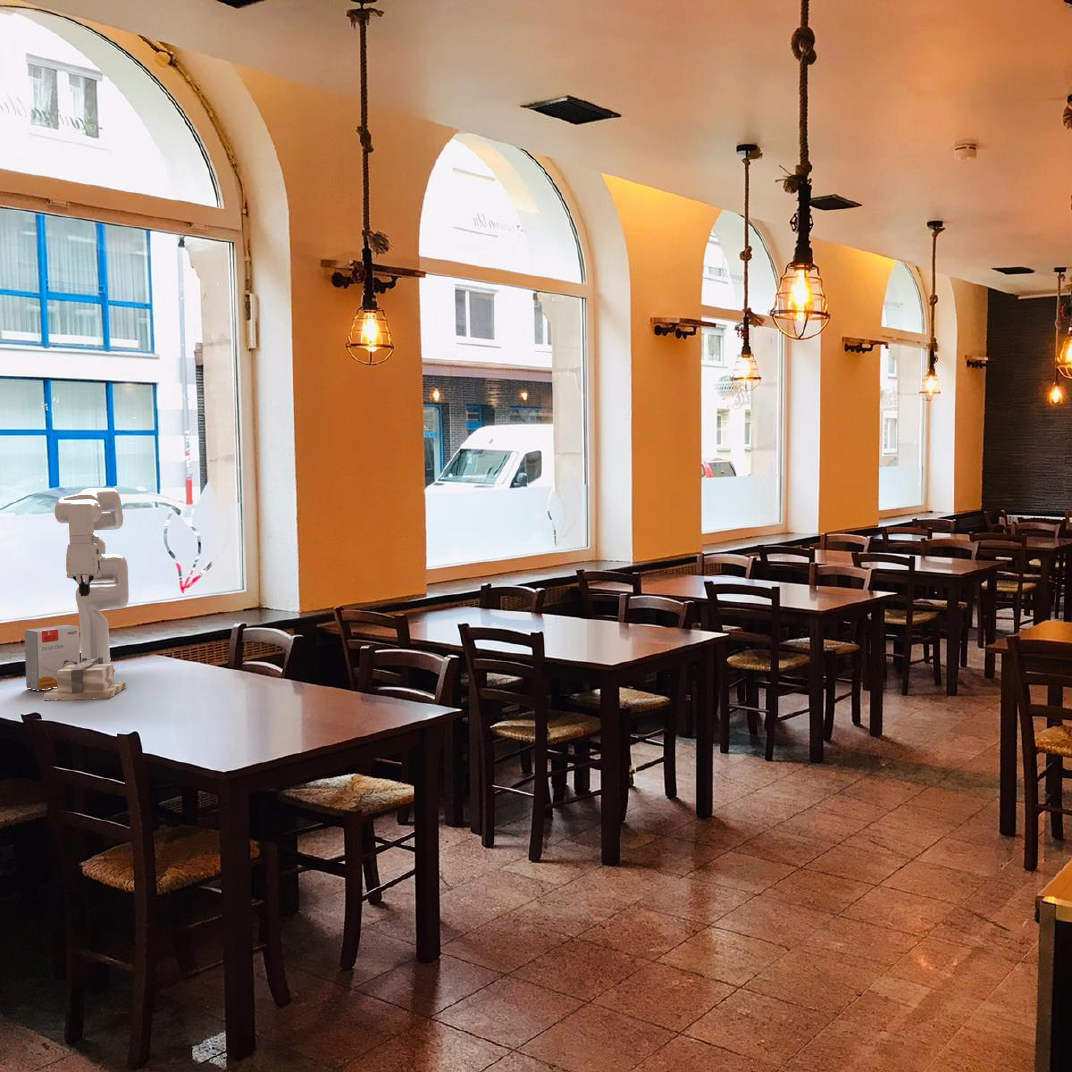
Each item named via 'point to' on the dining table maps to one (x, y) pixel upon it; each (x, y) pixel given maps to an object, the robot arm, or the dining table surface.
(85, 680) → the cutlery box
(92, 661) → the latch bar
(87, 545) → the robot arm
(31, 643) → the hard drive box
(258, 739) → the dining table surface
